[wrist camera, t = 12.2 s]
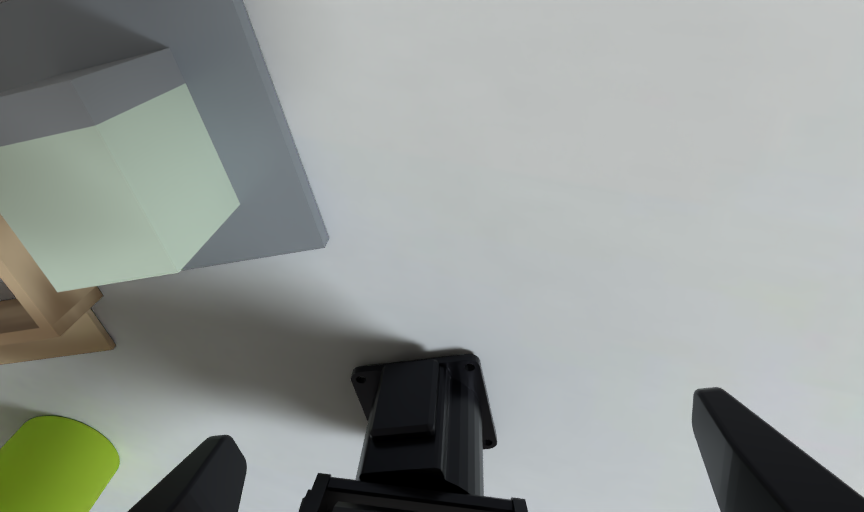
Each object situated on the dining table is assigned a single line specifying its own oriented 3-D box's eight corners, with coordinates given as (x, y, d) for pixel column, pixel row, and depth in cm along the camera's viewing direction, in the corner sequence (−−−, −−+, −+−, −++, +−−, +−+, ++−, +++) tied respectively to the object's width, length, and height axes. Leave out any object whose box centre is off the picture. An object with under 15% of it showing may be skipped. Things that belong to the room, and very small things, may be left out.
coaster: (329, 238, 22) (324, 247, 21) (126, 271, 23) (115, 280, 23) (222, -56, 16) (211, -56, 16) (-34, 15, 18) (-54, 17, 17)
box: (240, 204, 20) (178, 272, 16) (141, 222, 21) (57, 292, 17) (169, 47, 17) (70, 80, 13) (57, 75, 18) (-72, 114, 14)
